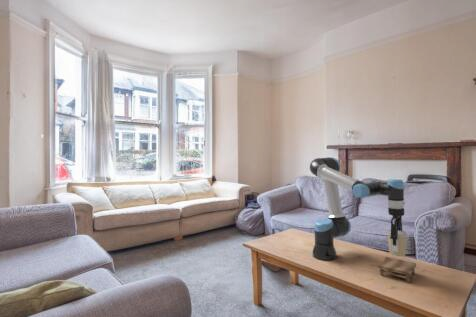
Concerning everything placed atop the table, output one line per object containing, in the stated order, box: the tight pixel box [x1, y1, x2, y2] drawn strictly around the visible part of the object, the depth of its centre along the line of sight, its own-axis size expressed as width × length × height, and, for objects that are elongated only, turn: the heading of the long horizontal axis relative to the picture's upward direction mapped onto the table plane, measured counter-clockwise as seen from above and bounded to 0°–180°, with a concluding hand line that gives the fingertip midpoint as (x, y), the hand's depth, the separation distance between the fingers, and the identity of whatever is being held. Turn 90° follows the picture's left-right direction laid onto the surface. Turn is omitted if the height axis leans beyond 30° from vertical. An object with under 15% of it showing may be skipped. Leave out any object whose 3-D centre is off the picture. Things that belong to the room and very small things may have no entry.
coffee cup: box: [386, 229, 408, 257], centre depth 145 cm, size 9×9×12 cm
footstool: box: [378, 256, 417, 284], centre depth 146 cm, size 15×15×6 cm
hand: (397, 248), depth 146 cm, fingers closed on coffee cup, 9 cm apart
